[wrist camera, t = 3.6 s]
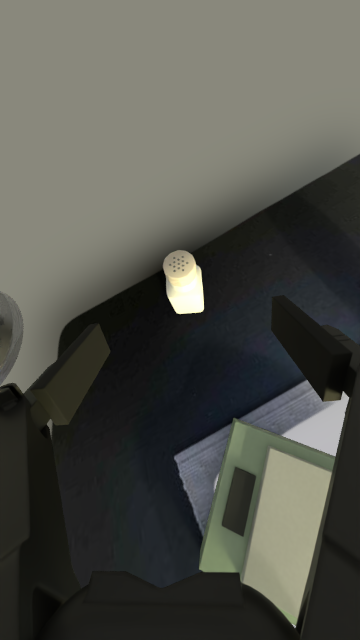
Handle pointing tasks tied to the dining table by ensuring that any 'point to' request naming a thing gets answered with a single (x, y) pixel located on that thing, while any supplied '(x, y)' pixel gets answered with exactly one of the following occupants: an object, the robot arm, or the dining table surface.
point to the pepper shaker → (183, 282)
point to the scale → (267, 513)
